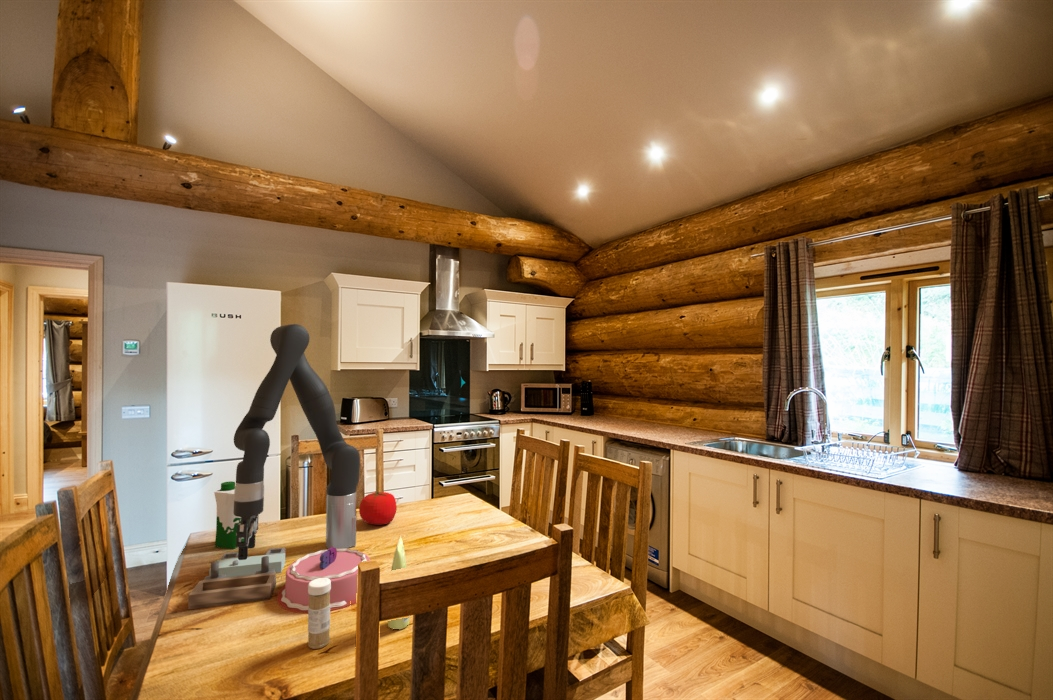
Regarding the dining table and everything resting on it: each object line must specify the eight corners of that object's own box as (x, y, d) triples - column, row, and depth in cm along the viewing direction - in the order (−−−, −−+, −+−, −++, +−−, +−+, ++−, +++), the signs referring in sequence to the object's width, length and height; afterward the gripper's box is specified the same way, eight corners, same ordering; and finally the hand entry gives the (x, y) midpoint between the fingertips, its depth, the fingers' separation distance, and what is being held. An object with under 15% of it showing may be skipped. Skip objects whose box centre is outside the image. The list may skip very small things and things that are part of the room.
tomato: (402, 518, 186) (403, 488, 186) (384, 531, 173) (385, 498, 173) (372, 515, 189) (373, 485, 189) (352, 528, 176) (353, 495, 176)
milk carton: (231, 538, 165) (232, 479, 165) (254, 540, 163) (255, 480, 163) (209, 548, 156) (210, 485, 156) (233, 550, 154) (235, 487, 155)
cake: (313, 566, 145) (313, 530, 145) (392, 573, 141) (393, 536, 141) (254, 609, 120) (254, 566, 120) (348, 619, 116) (349, 574, 116)
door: (287, 557, 150) (287, 544, 150) (281, 572, 139) (281, 558, 139) (221, 564, 144) (221, 550, 144) (209, 580, 134) (209, 565, 134)
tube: (381, 624, 113) (382, 540, 114) (399, 615, 117) (401, 534, 117) (395, 633, 110) (397, 546, 110) (414, 624, 114) (415, 540, 114)
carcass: (277, 581, 134) (278, 554, 134) (269, 599, 124) (270, 570, 124) (202, 589, 129) (203, 562, 129) (188, 609, 119) (188, 579, 119)
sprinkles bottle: (324, 635, 109) (325, 575, 109) (333, 643, 106) (334, 581, 106) (303, 643, 105) (304, 581, 106) (312, 652, 102) (313, 588, 102)
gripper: (257, 503, 134) (255, 562, 134) (269, 489, 148) (266, 543, 148) (227, 504, 132) (224, 564, 132) (241, 491, 146) (239, 545, 145)
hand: (246, 553), depth 140 cm, fingers open, 8 cm apart
